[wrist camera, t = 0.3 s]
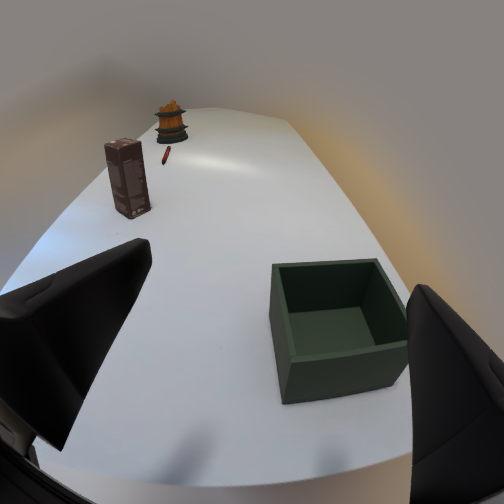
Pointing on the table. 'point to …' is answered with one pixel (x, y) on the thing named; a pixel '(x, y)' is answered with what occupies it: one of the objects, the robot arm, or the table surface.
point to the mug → (171, 124)
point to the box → (127, 176)
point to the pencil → (166, 155)
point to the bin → (335, 329)
